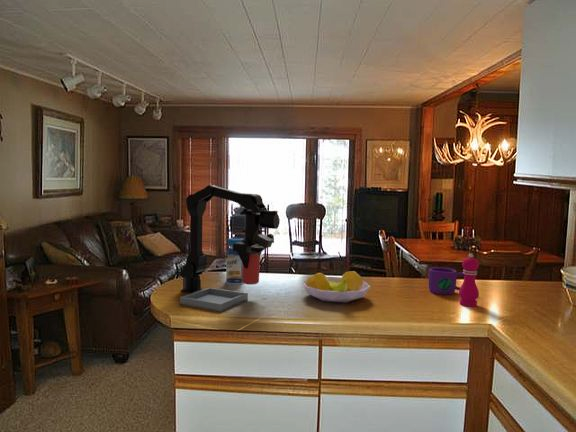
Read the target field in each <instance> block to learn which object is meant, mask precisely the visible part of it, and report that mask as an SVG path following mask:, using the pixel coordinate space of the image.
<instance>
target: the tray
mask: <svg viewBox="0 0 576 432" xmlns="http://www.w3.org/2000/svg"><path fill="white" fill-rule="evenodd" d="M248 300H249V294H248V292H241V291H235V290H228V289H223V288H222V289H221V288H215V287H207V288H202V290H200V291H197V292H194V293H189V294H185V295H183V296H180V297H179V305H181V306H187V307H192V308H197V309H203V310H209V311H214V312H219V313H221V312H224V311H226V310H229V309H231V308H234V307H235V306H237V305H241V304H242V303H245V302H247V301H248Z"/></svg>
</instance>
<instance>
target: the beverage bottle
mask: <svg viewBox="0 0 576 432" xmlns="http://www.w3.org/2000/svg"><path fill="white" fill-rule="evenodd" d="M242 240H244V238H241V237H231V238H228V240H227V243H228V244H227V245H228V249H227V250H226V259H225V263H226V264H225V266H226V271H225V272H226V273H225V278H226V279H225V283H226V284H228V285H242V284H244V283H243V282H242V264H243V263H242V261H241V259H240V257H239V255H238V253H237V252H236V251H233V250H232V245H233V244H234V243H238V242H242Z"/></svg>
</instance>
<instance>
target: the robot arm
mask: <svg viewBox="0 0 576 432" xmlns="http://www.w3.org/2000/svg"><path fill="white" fill-rule="evenodd" d="M214 197H216V198H219V199H223V200H226V201H230V202H234V203H236V204H238V205H239V206H241V207H242V208H243V210H241V211H240V212H239V214H240V215H244V228H243V229H242V233H244V238H243V240H242V242H238V243H234V244H233V245H232V250H233V251H236V252H237V253H238V255H239V257H240V259H241V261H242V263H243V265H244V268H246V269H247V268H248V263H249V256H250V254H251V253H252V252H253V251H254V252H258V254H259V257H261V254H262V252H263V251H265V250H266V249H268V248H271V247H272V245H273V244H274V243H275V236H274V234H272V233H269V234H264V233H263V230H262V229H261V228H263V229H273V230H277V229H278V228H279V225H280V221H281V220H280V217H279V214H278V210H268V208H267V207H266V205H265V204H264V202H263V198H262V196H261V195H260V194H257V193H244V192H243V193H242V192H238V191H234V190H230V189H228V188H224V187H220V186H217V185H216V184H215V185H214V184H212V185H211V184H209V185H207V186H205V187H204V188H202V189H200V190H198V191H196V192H194V193H192V194H191V193H190V194H189V195H188V196H187V197H186V198H185V203H186V204H185V205H186V206H185V207H186V211H187V212H188V215H189V217H190V218H189V224H190V225H189V252H188V255H187V257H186V258H185V259H186V261H185V266H184V267H183V268H182V269H181V270H180V271H179V275H180V277H181V278H183V279H182V288H181V289H180V292H184V293H185V292H186V293H189V294H191V293H194V292H197V291H200V290H203V288H201V287H202V286H201V285H202V283H201V276H202V275H203V272H204V270H205V269H206V268H207V266H208V254H204V252H203V217H204V215H205V212H206V210H207V204H208V202H210V201H211V200H212V199H213V198H214ZM260 227H261V228H260Z"/></svg>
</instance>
